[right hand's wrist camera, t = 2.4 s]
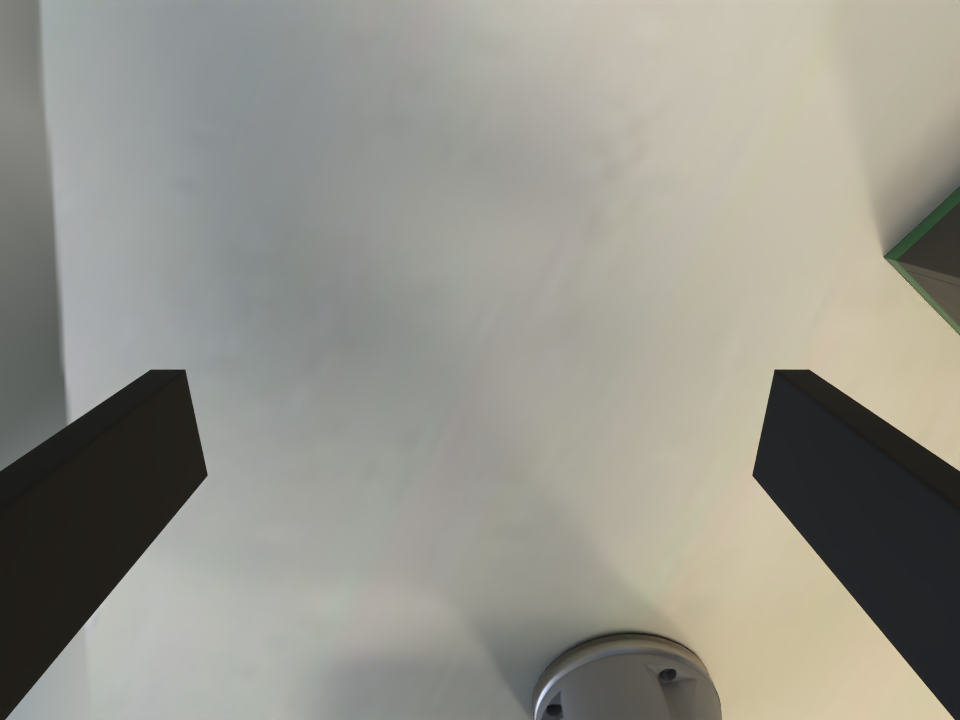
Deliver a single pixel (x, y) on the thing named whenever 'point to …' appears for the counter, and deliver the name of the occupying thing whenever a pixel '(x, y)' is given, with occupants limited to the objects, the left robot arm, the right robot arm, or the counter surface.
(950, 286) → the cabinet
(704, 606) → the counter surface
